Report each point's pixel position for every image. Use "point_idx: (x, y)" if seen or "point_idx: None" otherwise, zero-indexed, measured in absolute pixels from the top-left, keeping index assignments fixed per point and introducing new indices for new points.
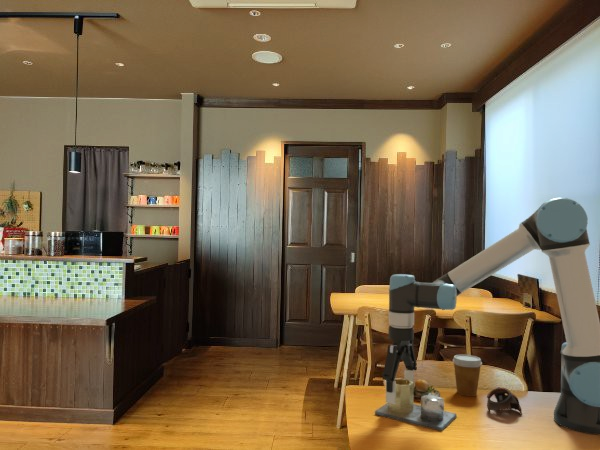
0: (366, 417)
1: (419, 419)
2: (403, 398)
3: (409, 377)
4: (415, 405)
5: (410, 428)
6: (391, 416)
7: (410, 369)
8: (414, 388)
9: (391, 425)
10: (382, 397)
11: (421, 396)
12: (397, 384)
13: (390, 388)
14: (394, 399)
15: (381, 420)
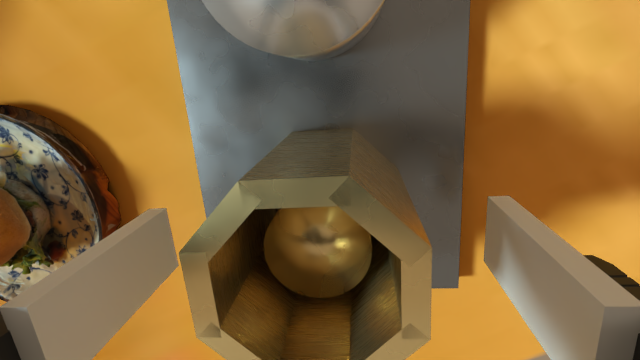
0: None
1: (425, 21)
2: (391, 182)
3: (100, 290)
4: (213, 155)
5: (542, 27)
6: (460, 190)
7: (6, 347)
8: (12, 261)
9: (560, 140)
10: (201, 345)
11: (42, 199)
12: (412, 288)
13: (633, 284)
14: (524, 208)
15: None
